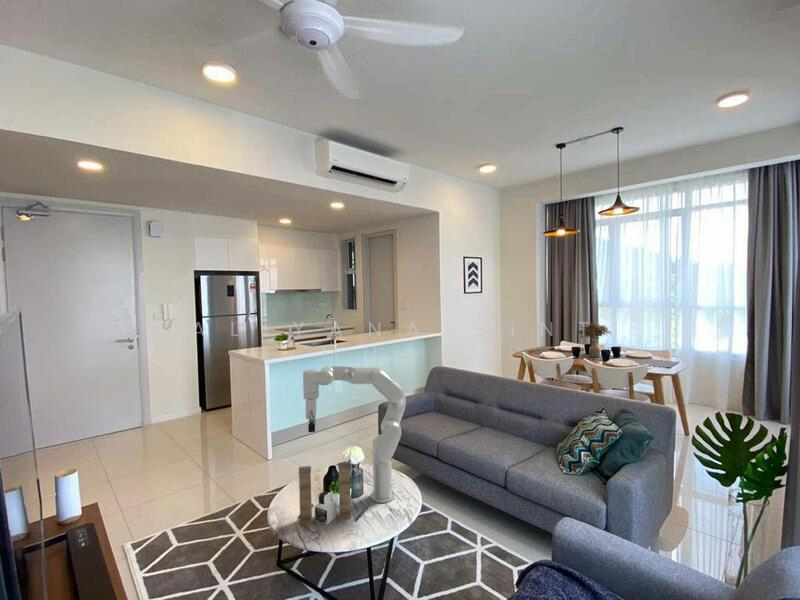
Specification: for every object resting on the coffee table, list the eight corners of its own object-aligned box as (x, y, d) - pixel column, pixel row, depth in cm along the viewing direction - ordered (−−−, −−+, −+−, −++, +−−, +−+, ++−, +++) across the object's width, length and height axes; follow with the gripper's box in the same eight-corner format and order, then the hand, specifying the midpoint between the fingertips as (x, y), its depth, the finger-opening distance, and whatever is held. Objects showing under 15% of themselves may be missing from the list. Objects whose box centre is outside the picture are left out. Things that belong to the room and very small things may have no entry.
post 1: (300, 518, 180) (299, 467, 179) (312, 517, 181) (310, 465, 180) (299, 525, 174) (298, 472, 174) (312, 524, 176) (310, 471, 175)
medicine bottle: (314, 521, 178) (314, 495, 178) (324, 513, 184) (324, 488, 184) (327, 525, 175) (326, 499, 174) (336, 516, 181) (336, 491, 181)
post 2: (339, 513, 183) (338, 462, 183) (350, 512, 184) (349, 461, 184) (339, 520, 178) (338, 468, 177) (351, 518, 179) (350, 466, 178)
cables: (306, 505, 191) (306, 503, 191) (368, 507, 188) (368, 505, 188) (298, 518, 180) (298, 515, 180) (364, 520, 177) (364, 518, 177)
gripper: (304, 390, 199) (305, 423, 199) (302, 400, 182) (303, 435, 182) (318, 389, 200) (319, 422, 201) (318, 398, 183) (319, 434, 184)
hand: (312, 428), depth 192 cm, fingers open, 9 cm apart
